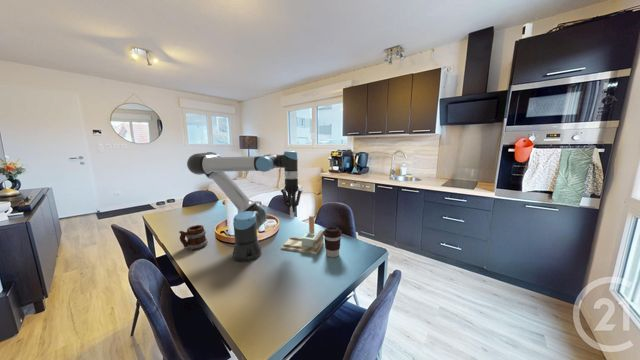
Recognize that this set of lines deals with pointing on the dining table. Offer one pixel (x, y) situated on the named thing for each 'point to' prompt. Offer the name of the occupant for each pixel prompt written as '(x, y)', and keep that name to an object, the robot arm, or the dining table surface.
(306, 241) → the block
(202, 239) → the mug
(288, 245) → the board
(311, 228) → the dowel
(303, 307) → the dining table surface
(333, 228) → the coffee cup
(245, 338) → the dining table surface
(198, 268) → the dining table surface
